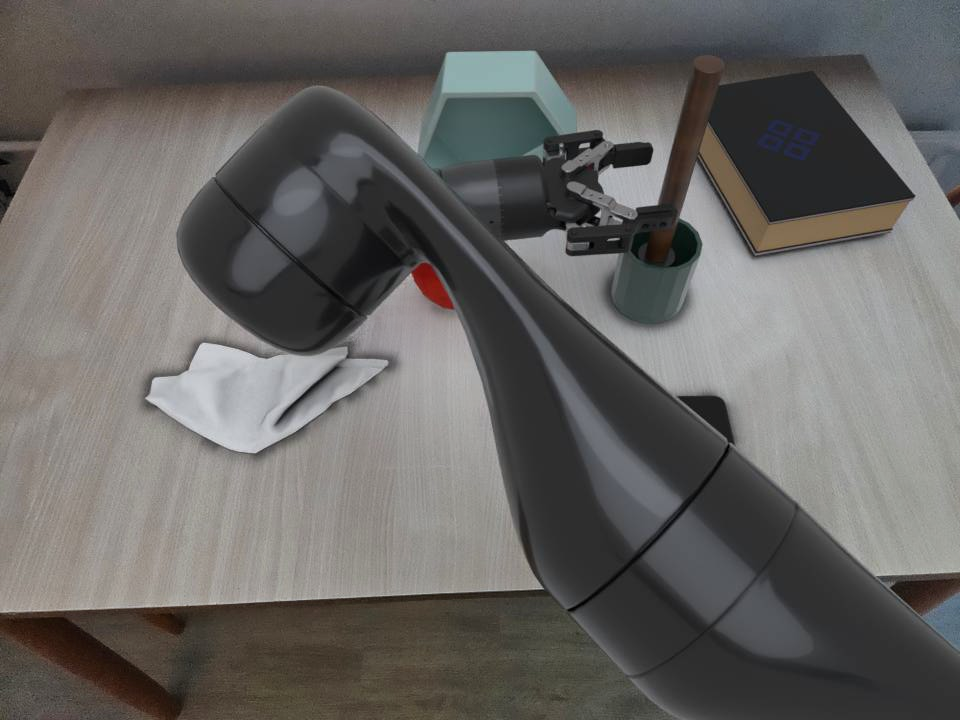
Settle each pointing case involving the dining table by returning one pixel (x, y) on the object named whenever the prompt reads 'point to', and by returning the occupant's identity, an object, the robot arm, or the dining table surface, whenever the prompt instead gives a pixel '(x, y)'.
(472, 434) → the dining table surface
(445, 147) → the planter
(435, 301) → the apple
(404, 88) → the dining table surface
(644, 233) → the green faceted cup
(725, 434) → the smartphone
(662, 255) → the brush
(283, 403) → the cloth
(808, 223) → the book
